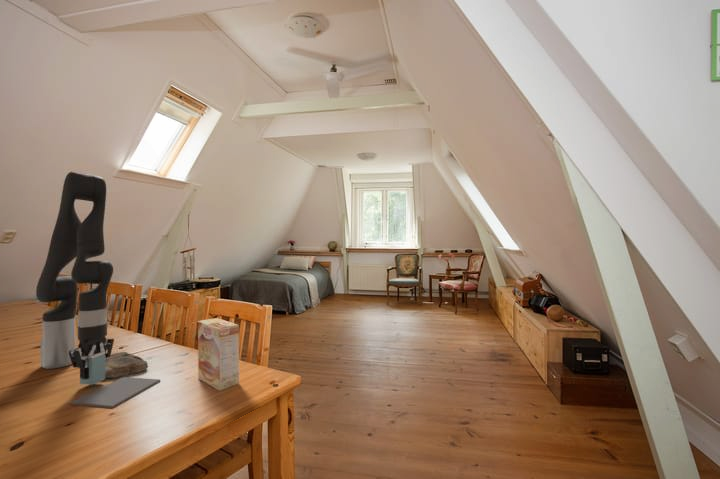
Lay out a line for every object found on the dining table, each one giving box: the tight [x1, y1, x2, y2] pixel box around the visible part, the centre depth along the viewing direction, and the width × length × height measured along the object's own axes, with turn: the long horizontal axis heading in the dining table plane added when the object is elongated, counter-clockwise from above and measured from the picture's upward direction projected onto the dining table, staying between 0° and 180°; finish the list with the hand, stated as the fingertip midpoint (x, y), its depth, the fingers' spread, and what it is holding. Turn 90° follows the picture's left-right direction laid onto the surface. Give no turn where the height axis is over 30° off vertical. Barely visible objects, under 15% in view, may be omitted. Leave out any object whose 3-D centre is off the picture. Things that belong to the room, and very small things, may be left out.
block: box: [79, 352, 106, 386], centre depth 110 cm, size 4×4×9 cm
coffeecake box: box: [197, 317, 240, 392], centre depth 113 cm, size 15×7×20 cm, turn 49°
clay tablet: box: [105, 351, 149, 379], centre depth 125 cm, size 14×5×20 cm
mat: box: [69, 376, 161, 409], centre depth 105 cm, size 14×18×1 cm
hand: (92, 375), depth 110 cm, fingers closed on block, 4 cm apart
